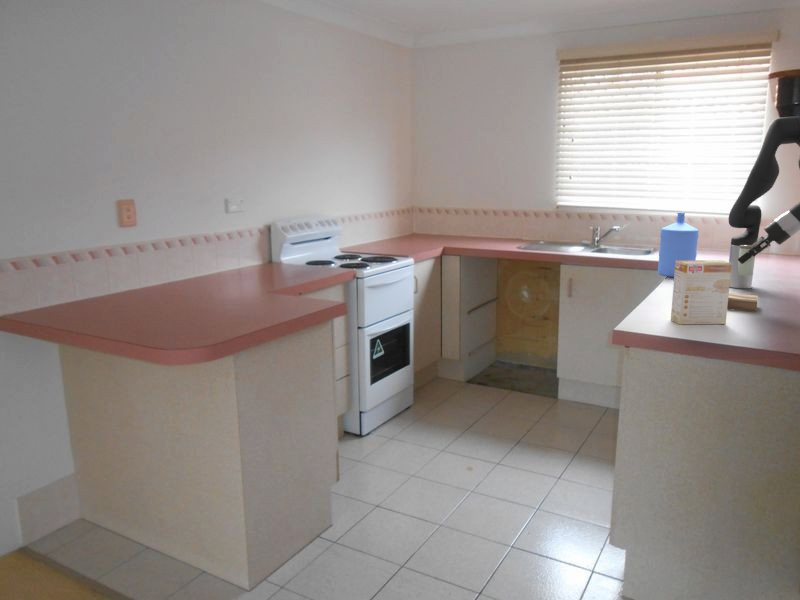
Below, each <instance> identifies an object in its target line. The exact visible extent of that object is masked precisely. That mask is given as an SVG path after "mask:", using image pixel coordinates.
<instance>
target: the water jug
mask: <svg viewBox="0 0 800 600" xmlns="http://www.w3.org/2000/svg"><path fill="white" fill-rule="evenodd" d="M676 214H677V216H676V221H675V222H673V223H672V224H669V225H667V226H664V227H662V228H661V230H660V236H659V237H660V243H659V251H658V264H657V265H658V267H657V274H658V275H659V276H662V277H668V278H674V274H675V263H676V261H686V260H696V258H697V249H698V240H699V230H698V229H697V228H696V227H694V226H692V225H690V224H688V223H686V222H685V217H686V216H685V214H686V213H685V212H677V213H676Z"/></svg>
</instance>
